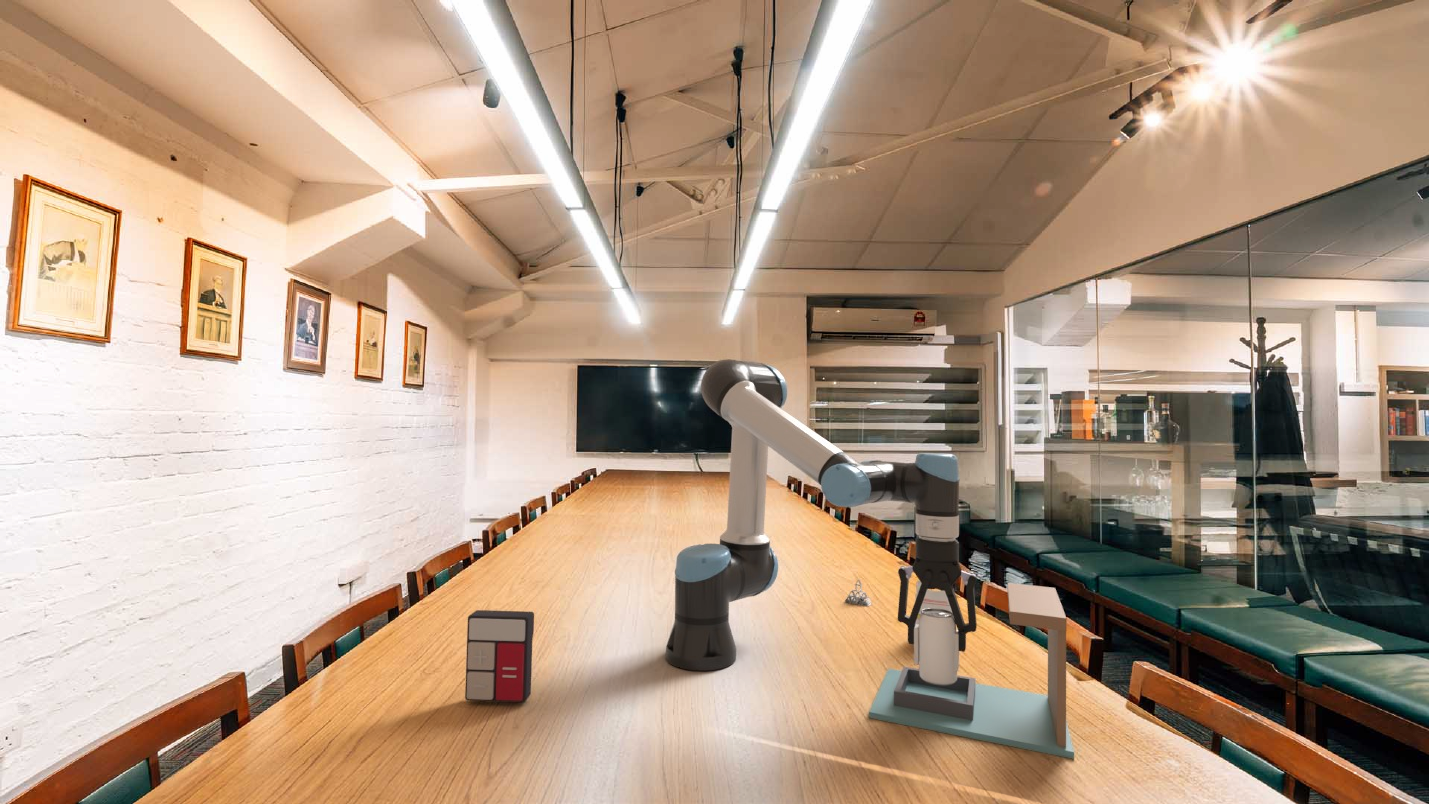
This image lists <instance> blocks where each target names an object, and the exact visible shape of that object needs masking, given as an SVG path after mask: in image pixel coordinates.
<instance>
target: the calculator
mask: <svg viewBox="0 0 1429 804" xmlns="http://www.w3.org/2000/svg"><path fill="white" fill-rule="evenodd" d="M534 625H535V613H534V612H533V611H524V610H523V611H520V610H519V611H517V610H489V609H488V610H487V609H485V610H481V609H477V610H475V611H474V612H472V613H471V614H470V615H468V617H467V628H466V629H467V631H466V633H467V634H466V635H467V636H466V661H465V663H466V665H465V667H466V668H465V690H464V691H465V692H464V693H465V694H464V695H465V696H464V698H465V700H466V701H472V702H473V701H476V702H478V701H479V702H503V703H505V702H508V703H525V702H526V701H527V700H528V699H529V698H530V696H531V693H532V668H533V666H532V665H533V659H532V658H533V639H534V629H535V628H534V627H535V626H534Z"/></svg>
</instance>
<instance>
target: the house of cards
mask: <svg viewBox="0 0 1429 804" xmlns="http://www.w3.org/2000/svg"><path fill="white" fill-rule="evenodd" d="M854 585H855V589H852V590H851V591H850V592H849V593H848V596H847V597H846V599H845V600H844V604H845V603H846V604H851V605H857V606H858V605H859V606H863V607H870V606H871V605H873V602H872V601H871V599H870V597H869V596H867V592H866V591H863V590H862V588H863V587H862V586H863V584H862V582H861V580H860V579H857V581H856V582H855V584H854ZM858 587H859V590H858ZM855 592H856V593H855ZM851 593H852V594H851Z"/></svg>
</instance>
